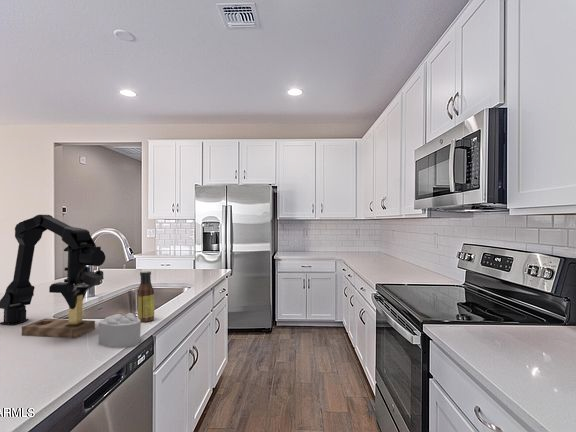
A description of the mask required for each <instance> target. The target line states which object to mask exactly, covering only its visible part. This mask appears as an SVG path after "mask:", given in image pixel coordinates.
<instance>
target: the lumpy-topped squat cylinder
mask: <svg viewBox="0 0 576 432" xmlns="http://www.w3.org/2000/svg"><path fill="white" fill-rule="evenodd" d="M141 324H142V322H141V320H140V319H139V318H138V316H135V314H134V313H132V312H129V313H126V314H125V315H123V314H122V313H121V314H120V313H116V314H113V315H109V316H107V317H105V318H103V319H102V320H101V319H100V321H98V345H99V346H103V347H105V348H107V347H108V348H117V349H118V348H128V347H135V346H137V345H139V344H140V343H141V328H142V327H141Z"/></svg>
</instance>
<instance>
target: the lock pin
mask: <svg viewBox="0 0 576 432" xmlns="http://www.w3.org/2000/svg"><path fill="white" fill-rule="evenodd" d="M83 301H84V299H83V295H82V294H76V300H75V307H74V309H70V307H69V306H68V319H67V320H68V324H74V325H77V324H79V323H81V322H82V320H83V308H84V307H83V305H84V304H83Z"/></svg>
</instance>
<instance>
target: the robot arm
mask: <svg viewBox="0 0 576 432" xmlns="http://www.w3.org/2000/svg"><path fill="white" fill-rule="evenodd" d="M46 231H50V232H52V233H54V234H56V235H58V236H59V237H61V240H62V242H64V243H65V244H66V245H67V247H65V248H64V249H63V251H64V252H67V267H64V271H66V272H67V273H66V275H67V276H66V278H64V279H63V281H62V282H61V281H60V282H56V283H55V282H54V283H51V284H50V286H49V289H48V290H49V293H51V294H52V293H53V294H55V293H56V294H61V295H62V296H63V298H64V299H65V302H66V303H67V305H68V308H69V307H70V309H74V307H75V300H76V294H82V295H83V300H84V298H85V296H86V294H87V292H88V291H89V290H90V289H92V288H93V287H95V286H99V285H100V284H101V281H102V280H104V271H102V270H96V271H90V269H91V268H90V267H91V266H92V267H100V266H102V265H103V264H104V263H105V262H106V255H105V252H104V251H103V250H101V249H102V247H101V246H97V244H96V243H95V241H94V240H93V238H92V235H91V233H90V231H89V230H88V229H86V228H81V227H76V226H75V227H74V226H71V225H70V224H67V223H65V222H63V221H61V220H59V219H57V218H56V217H53V215H50V214H37V215H35V216H33V217H30V218H28V219H26V220H25V219H24V220H22V221H21V222H18V223H16V224H15V227H14V238H15V239H16V241H17V243H18V247H17V248H18V249H17V254H16V255H17V256H16V260H15V261H16V262H15V267H14V272H13V279H12V281H11V282H10V283H9V284H8V286H6V289H5V293H4V294H3V296H2V297H1V299H0V309H1V310H3V321H0V325H10V326H11V325H13V326H14V325H19V324H21V323H24V322H27V321H30V320H29V318H27V309H26V308H27V306H30V305H31V303H32V300H33V297H34V293H35V285H32V283H31V282H30V279H31V272H32V266H33V260H34V259H33V258H34V252H35V247H36V245H37V244H38V242H39V241H40V240H41V239H42V236H43V233H44V232H46ZM89 266H90V267H89Z"/></svg>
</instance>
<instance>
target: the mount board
mask: <svg viewBox="0 0 576 432" xmlns="http://www.w3.org/2000/svg"><path fill="white" fill-rule="evenodd" d="M95 327H96V321H95V320H84V319H82V322H81V323H79V324H77V325H74V324H68V319H62V318H42V319H40V320H37V321H35V322H30V323H29V324H25V325H22V326H21V336H24V337H26V336H27V337H29V336H30V337H48V338H66V339H67V338H69V339H77V338H79V337H81V336H83V335H85V334H87V333H89V332H92V331H94V330H95V329H96V328H95Z"/></svg>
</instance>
